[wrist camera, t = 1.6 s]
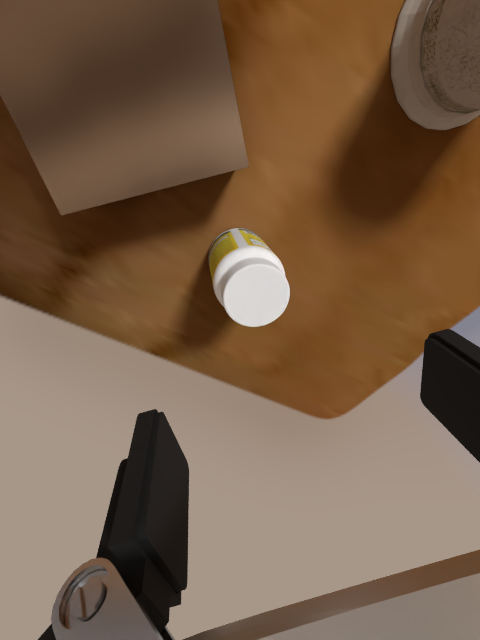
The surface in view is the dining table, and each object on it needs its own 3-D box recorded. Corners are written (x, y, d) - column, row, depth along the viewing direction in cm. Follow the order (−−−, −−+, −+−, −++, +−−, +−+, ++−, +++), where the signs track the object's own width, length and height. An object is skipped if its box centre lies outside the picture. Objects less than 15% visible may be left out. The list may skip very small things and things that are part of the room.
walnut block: (-9, -10, 16) (-86, -75, 11) (191, -60, 16) (191, -142, 12) (88, 204, 21) (61, 215, 17) (237, 165, 21) (248, 166, 17)
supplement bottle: (213, 287, 26) (221, 339, 18) (203, 231, 23) (208, 264, 16) (267, 278, 26) (297, 325, 18) (263, 223, 24) (295, 251, 16)
